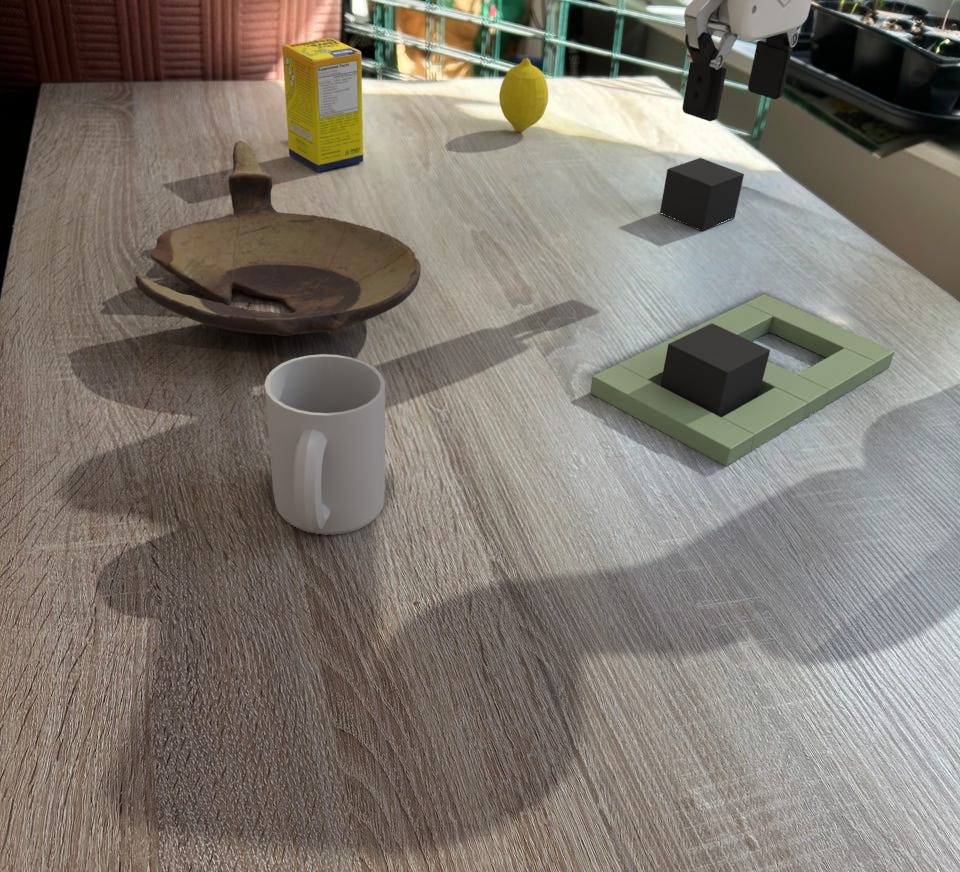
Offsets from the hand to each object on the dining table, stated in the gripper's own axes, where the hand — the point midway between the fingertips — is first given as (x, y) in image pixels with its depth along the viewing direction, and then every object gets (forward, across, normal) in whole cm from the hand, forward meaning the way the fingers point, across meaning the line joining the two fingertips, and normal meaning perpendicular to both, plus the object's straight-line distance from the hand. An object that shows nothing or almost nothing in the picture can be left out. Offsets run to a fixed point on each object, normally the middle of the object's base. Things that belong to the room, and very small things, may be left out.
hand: (732, 105), depth 94 cm
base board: (+14, -15, -15) cm, 26 cm away
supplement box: (+14, -10, +42) cm, 45 cm away
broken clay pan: (+14, -34, +18) cm, 41 cm away
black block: (+14, -20, -15) cm, 29 cm away
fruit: (+14, +14, +35) cm, 40 cm away
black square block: (+14, +10, +7) cm, 19 cm away
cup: (+14, -52, -7) cm, 54 cm away
